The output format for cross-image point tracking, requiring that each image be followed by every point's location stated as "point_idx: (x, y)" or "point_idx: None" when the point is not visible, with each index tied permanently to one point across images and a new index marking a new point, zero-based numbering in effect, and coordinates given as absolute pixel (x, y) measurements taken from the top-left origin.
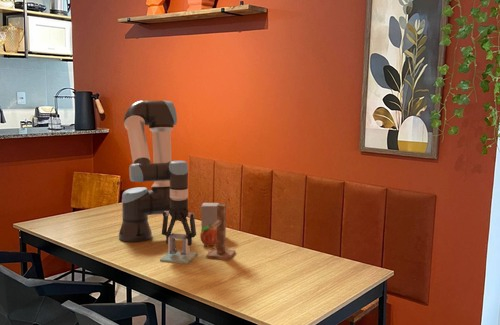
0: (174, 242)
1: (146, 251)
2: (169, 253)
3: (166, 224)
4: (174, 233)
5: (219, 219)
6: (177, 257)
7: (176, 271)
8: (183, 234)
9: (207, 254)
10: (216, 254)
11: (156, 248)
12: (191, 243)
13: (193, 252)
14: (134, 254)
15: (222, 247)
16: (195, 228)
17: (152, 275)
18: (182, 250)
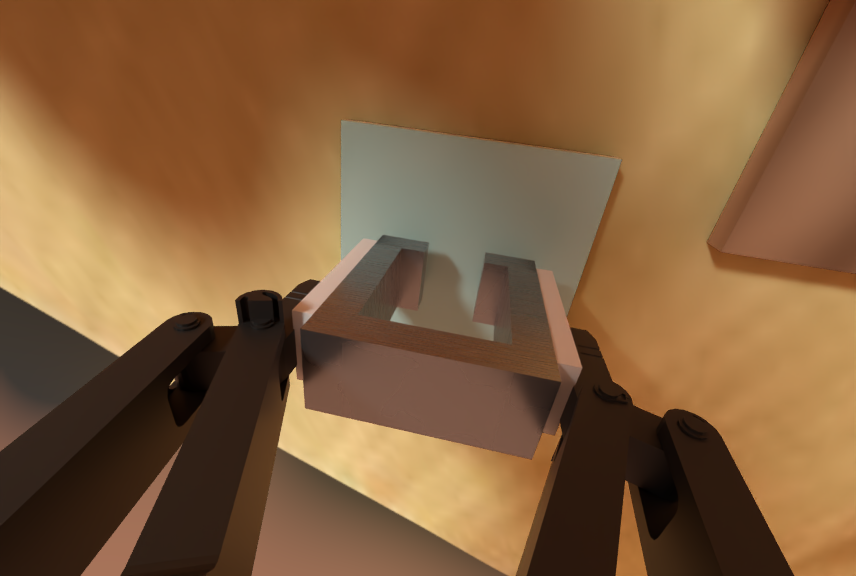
0: (380, 294)
1: (154, 138)
2: (360, 215)
3: (109, 479)
4: (333, 336)
5: None
6: (451, 300)
7: (491, 465)
8: (483, 375)
9: (739, 230)
10: (854, 219)
11: (178, 27)
12: (594, 351)
13: (579, 156)
14: (126, 222)
15: None
16: (779, 551)
17: (386, 495)
18: (481, 281)
